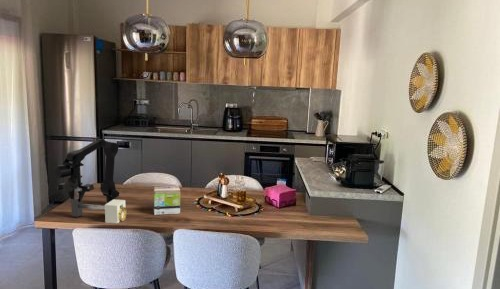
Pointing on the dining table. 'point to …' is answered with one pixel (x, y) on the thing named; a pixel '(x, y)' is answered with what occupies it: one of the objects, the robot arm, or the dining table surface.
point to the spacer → (121, 213)
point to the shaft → (78, 206)
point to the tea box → (166, 200)
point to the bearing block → (113, 211)
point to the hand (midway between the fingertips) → (76, 201)
